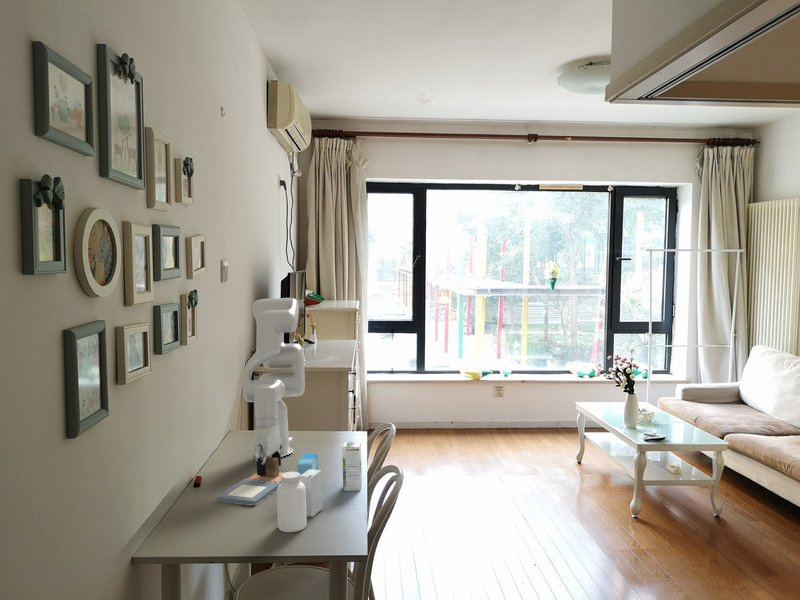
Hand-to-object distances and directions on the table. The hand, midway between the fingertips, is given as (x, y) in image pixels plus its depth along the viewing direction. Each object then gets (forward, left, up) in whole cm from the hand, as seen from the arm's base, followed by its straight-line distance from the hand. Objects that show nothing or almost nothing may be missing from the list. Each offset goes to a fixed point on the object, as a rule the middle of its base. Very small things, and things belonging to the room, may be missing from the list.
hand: (269, 470), depth 206 cm
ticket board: (+12, 0, -3) cm, 13 cm away
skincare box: (+20, +26, -4) cm, 33 cm away
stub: (0, 0, -3) cm, 3 cm away
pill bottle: (+30, +25, -4) cm, 39 cm away
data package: (+8, +19, -4) cm, 21 cm away
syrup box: (-1, +30, -4) cm, 31 cm away
